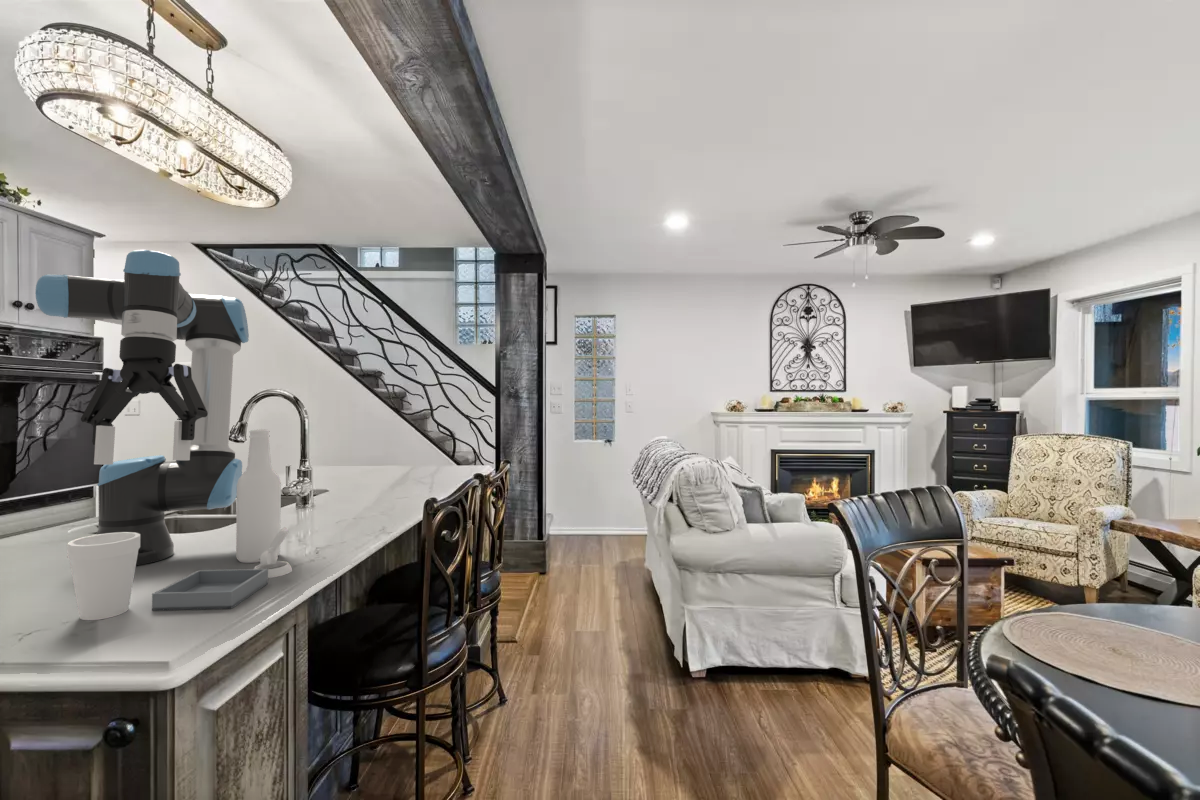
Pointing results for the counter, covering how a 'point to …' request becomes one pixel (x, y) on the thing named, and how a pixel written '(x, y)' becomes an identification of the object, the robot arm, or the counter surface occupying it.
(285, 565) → the hook
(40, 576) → the counter surface
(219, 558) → the counter surface
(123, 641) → the counter surface
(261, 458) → the alcohol
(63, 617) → the counter surface
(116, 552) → the foam cup
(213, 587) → the tray
